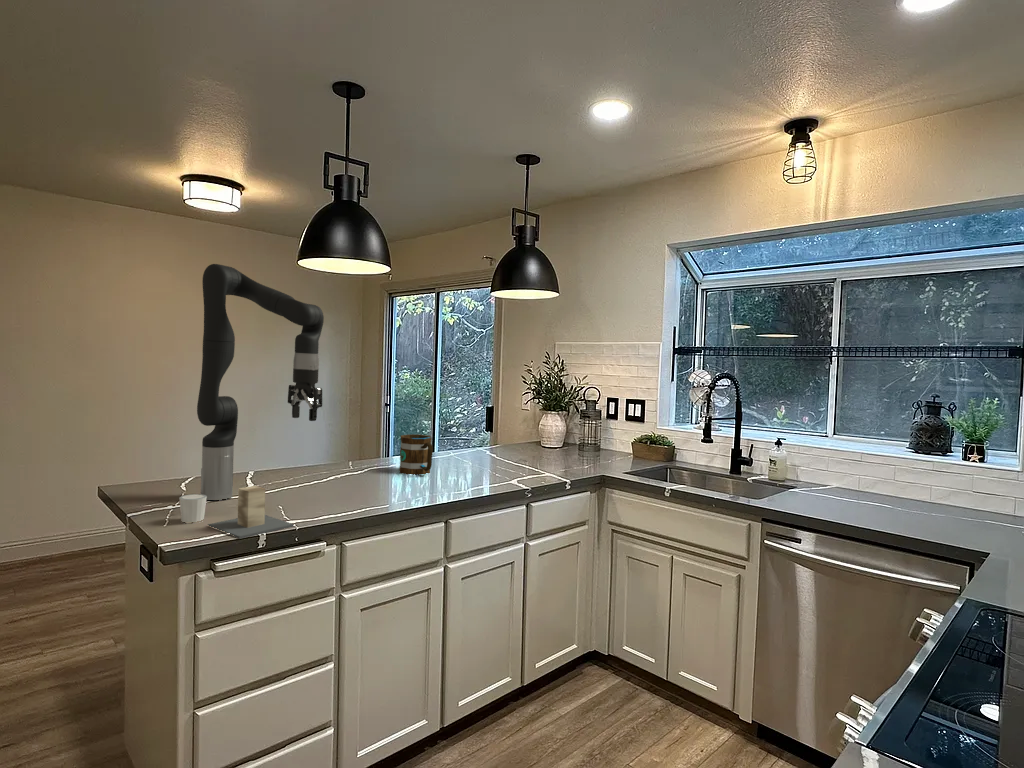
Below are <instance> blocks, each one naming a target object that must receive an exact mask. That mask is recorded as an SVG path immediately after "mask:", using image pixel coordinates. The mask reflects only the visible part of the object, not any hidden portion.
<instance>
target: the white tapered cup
mask: <svg viewBox="0 0 1024 768" xmlns="http://www.w3.org/2000/svg"><path fill="white" fill-rule="evenodd" d="M206 498H207V496H206V495H203V494H201V493H199V494H198V493H195V494H193V493H192V494H185V495H181V496H179V498H178V500H179V509H180V510H179V511H180V522H181V521H182V522H197V521H201V520H203V519H204V520H205V514H206V506H207V505H206V504H207V500H206ZM182 522H181V523H182Z"/></svg>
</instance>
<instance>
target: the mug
mask: <svg viewBox="0 0 1024 768" xmlns="http://www.w3.org/2000/svg"><path fill="white" fill-rule="evenodd" d="M399 449H400V451H399V456H400V457H399V460H400V461H399V469H398V470H399V471H400V472H399V471H398V472H399V474H402V473H404V475H408V474H413V475H412V476H420V475H419V474H424V475H427V474H426V473H428V474H430V473H431V468H432V465H433V464H432V462H433V452H434V451H433V450H434V447H433V445H432V436H431V435H426V434H409V433H408V434H402V435H400V448H399ZM414 474H415V475H414ZM417 474H418V475H417Z"/></svg>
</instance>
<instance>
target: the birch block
mask: <svg viewBox="0 0 1024 768" xmlns="http://www.w3.org/2000/svg"><path fill="white" fill-rule="evenodd" d="M237 492H238V497H237V498H238V499H237V518H238V524H239V525H242V526H244V527H247V528H249V527H253V526H258V525H262V524H264V522H265V515H266V511H265V510H266V488H263V487H260V486H257V485H253V486H252V485H251V486H246V487H239V488H238V491H237Z"/></svg>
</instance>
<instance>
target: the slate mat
mask: <svg viewBox="0 0 1024 768" xmlns="http://www.w3.org/2000/svg"><path fill="white" fill-rule="evenodd" d="M207 525H209V526H211V527H214V528H217V529H219V530H222V531H225V532H227V533H230V534H232V535H234V536H235V537H234V536H233V537H234V538H236V537H237V538H236V539H239V540H240V539H245V538H248V537H249V538H250V537H253V536H257V535H262V534H266V533H270V532H275V531H278V530H283V529H286V528H292V527H294V523H291V522H287V521H285V520H282V519H280V518H276V517H273V516H269V515H266V514H265V522H264V524H262V525H258V526H253V527H249V528H247V527H244V526H242V525H239V524H238V517H237V518H233V519H232V518H231V519H227V520H223V521H218V522H211V523H207Z"/></svg>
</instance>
